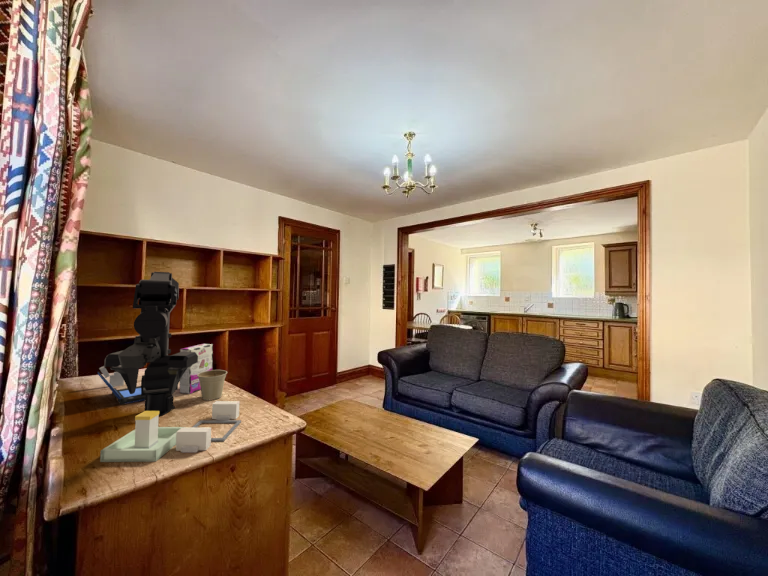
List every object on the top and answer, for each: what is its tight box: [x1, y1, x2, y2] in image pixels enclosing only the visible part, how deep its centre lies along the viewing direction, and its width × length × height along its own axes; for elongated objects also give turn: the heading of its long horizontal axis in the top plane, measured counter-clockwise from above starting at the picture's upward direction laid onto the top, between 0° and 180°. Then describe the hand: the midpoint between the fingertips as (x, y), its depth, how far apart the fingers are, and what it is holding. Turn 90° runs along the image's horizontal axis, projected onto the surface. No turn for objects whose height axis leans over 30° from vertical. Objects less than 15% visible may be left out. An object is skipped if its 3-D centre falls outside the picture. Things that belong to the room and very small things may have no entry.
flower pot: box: [197, 369, 228, 401], centre depth 110 cm, size 9×9×9 cm
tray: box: [99, 426, 183, 463], centre depth 75 cm, size 12×12×2 cm
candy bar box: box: [179, 343, 214, 395], centre depth 118 cm, size 11×5×16 cm, turn 168°
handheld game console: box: [97, 371, 146, 406], centre depth 107 cm, size 16×13×9 cm
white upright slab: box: [99, 365, 125, 388], centre depth 118 cm, size 7×2×8 cm, turn 133°
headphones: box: [175, 400, 242, 453], centre depth 85 cm, size 12×22×4 cm, turn 4°
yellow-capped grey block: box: [134, 411, 159, 449], centre depth 75 cm, size 3×3×8 cm
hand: (152, 393), depth 76 cm, fingers open, 9 cm apart
